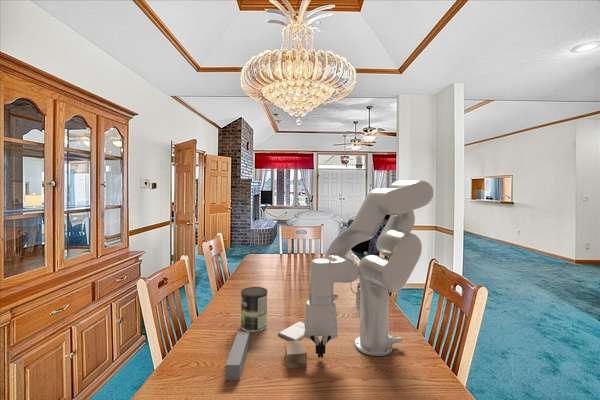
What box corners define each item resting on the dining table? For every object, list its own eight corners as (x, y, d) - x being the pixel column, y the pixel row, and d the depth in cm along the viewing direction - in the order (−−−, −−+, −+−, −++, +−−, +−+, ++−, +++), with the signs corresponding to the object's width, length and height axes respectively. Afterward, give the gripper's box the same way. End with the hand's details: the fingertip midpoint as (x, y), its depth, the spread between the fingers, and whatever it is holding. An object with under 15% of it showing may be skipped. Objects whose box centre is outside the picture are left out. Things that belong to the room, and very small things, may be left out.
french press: (376, 309, 139) (377, 254, 138) (349, 307, 141) (350, 253, 140) (375, 301, 149) (376, 250, 147) (350, 299, 151) (351, 249, 150)
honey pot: (336, 268, 207) (337, 242, 206) (356, 269, 205) (356, 242, 205) (336, 274, 195) (336, 245, 194) (357, 275, 193) (357, 246, 192)
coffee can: (244, 334, 115) (244, 297, 114) (238, 322, 125) (238, 288, 124) (270, 329, 119) (271, 293, 118) (263, 318, 129) (263, 285, 128)
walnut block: (303, 353, 103) (303, 340, 102) (306, 367, 95) (306, 353, 94) (285, 354, 102) (285, 341, 102) (287, 368, 94) (287, 354, 94)
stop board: (249, 344, 108) (249, 331, 108) (239, 380, 88) (239, 364, 88) (237, 344, 108) (237, 331, 108) (225, 380, 88) (225, 364, 88)
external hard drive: (278, 336, 115) (299, 324, 125) (295, 343, 110) (315, 330, 119) (278, 332, 115) (299, 320, 124) (295, 339, 110) (315, 326, 119)
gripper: (342, 294, 101) (341, 349, 102) (297, 294, 101) (296, 349, 102) (346, 303, 94) (345, 362, 95) (297, 303, 94) (297, 362, 94)
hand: (320, 355), depth 98 cm, fingers closed
